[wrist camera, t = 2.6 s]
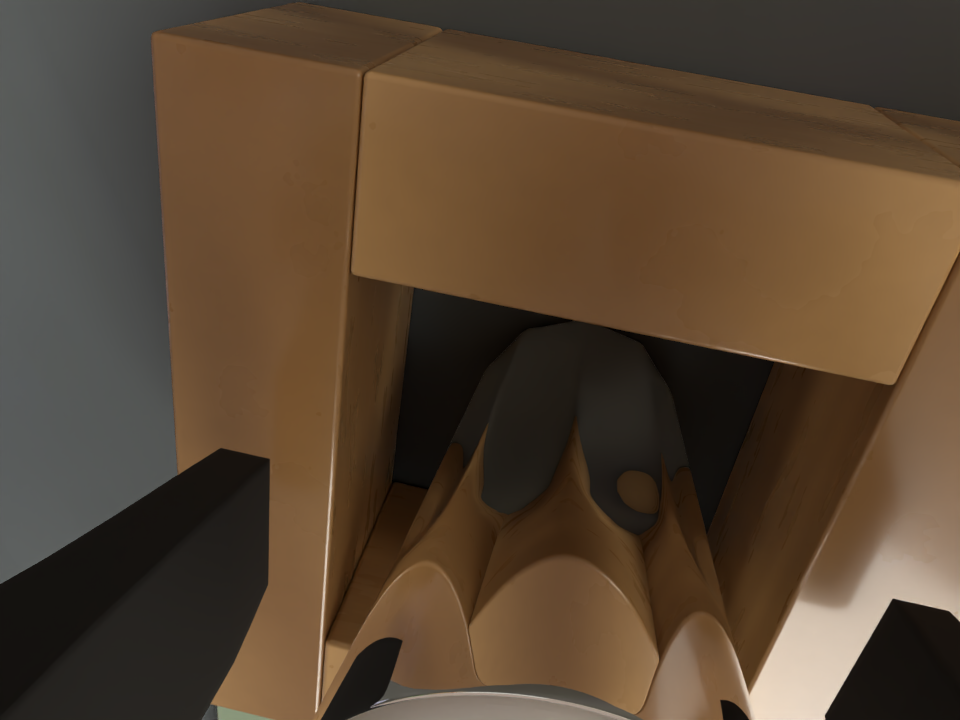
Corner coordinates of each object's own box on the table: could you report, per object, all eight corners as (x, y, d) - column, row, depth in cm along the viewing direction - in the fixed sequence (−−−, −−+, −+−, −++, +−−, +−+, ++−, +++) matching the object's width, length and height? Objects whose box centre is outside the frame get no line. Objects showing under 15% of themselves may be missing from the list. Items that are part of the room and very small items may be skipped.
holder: (282, 538, 16) (189, 701, 13) (295, 0, 11) (147, 30, 8) (778, 653, 16) (821, 858, 12) (1038, 135, 10) (1245, 235, 7)
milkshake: (746, 248, 12) (1085, 1122, 3) (684, 520, 14) (774, 1405, 6) (451, 218, 12) (44, 895, 4) (443, 486, 15) (193, 1250, 6)
